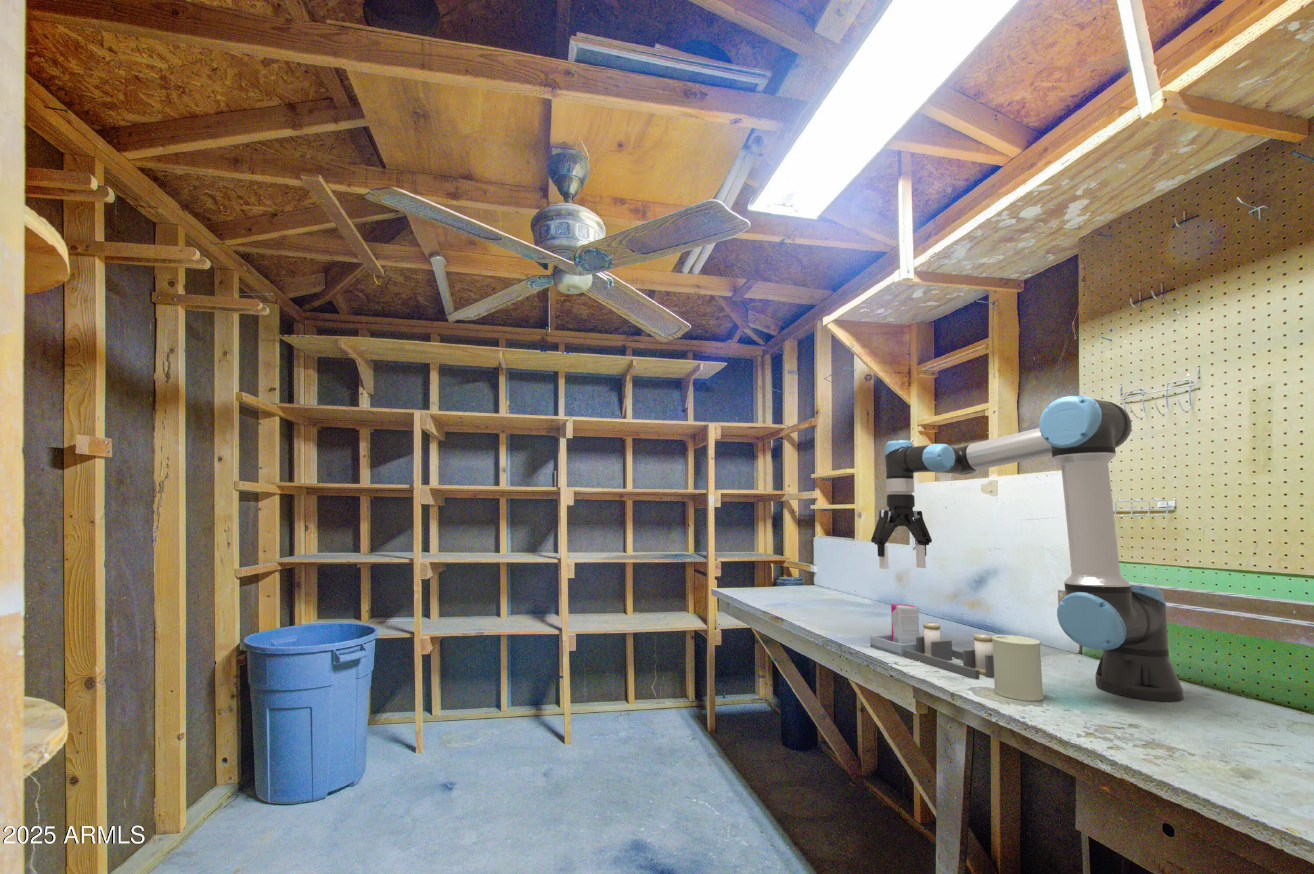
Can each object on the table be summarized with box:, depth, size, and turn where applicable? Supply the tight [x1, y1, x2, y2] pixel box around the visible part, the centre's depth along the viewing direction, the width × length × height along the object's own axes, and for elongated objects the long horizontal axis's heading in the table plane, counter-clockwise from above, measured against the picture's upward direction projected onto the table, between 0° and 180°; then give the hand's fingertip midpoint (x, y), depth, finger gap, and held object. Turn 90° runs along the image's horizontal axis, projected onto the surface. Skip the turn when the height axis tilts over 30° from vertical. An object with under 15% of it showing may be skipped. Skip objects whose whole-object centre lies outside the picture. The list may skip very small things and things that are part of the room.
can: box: [992, 634, 1045, 702], centre depth 130 cm, size 9×9×12 cm
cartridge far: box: [922, 621, 942, 656], centre depth 162 cm, size 4×4×9 cm
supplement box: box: [890, 603, 920, 644], centre depth 171 cm, size 6×6×12 cm
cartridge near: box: [973, 632, 993, 676], centre depth 147 cm, size 4×4×9 cm
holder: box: [903, 635, 994, 680], centre depth 154 cm, size 22×14×5 cm, turn 22°
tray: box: [869, 634, 921, 658], centre depth 171 cm, size 12×14×3 cm
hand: (902, 568), depth 173 cm, fingers open, 13 cm apart
